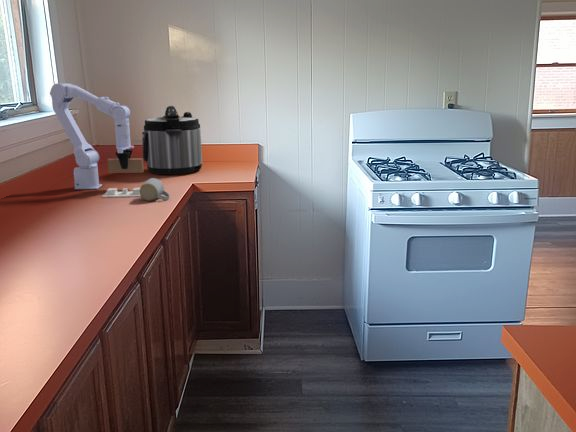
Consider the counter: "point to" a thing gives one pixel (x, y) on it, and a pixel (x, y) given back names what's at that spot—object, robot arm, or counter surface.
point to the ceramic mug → (153, 190)
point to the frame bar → (133, 167)
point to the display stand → (122, 193)
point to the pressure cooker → (172, 143)
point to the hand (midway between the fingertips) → (125, 168)
